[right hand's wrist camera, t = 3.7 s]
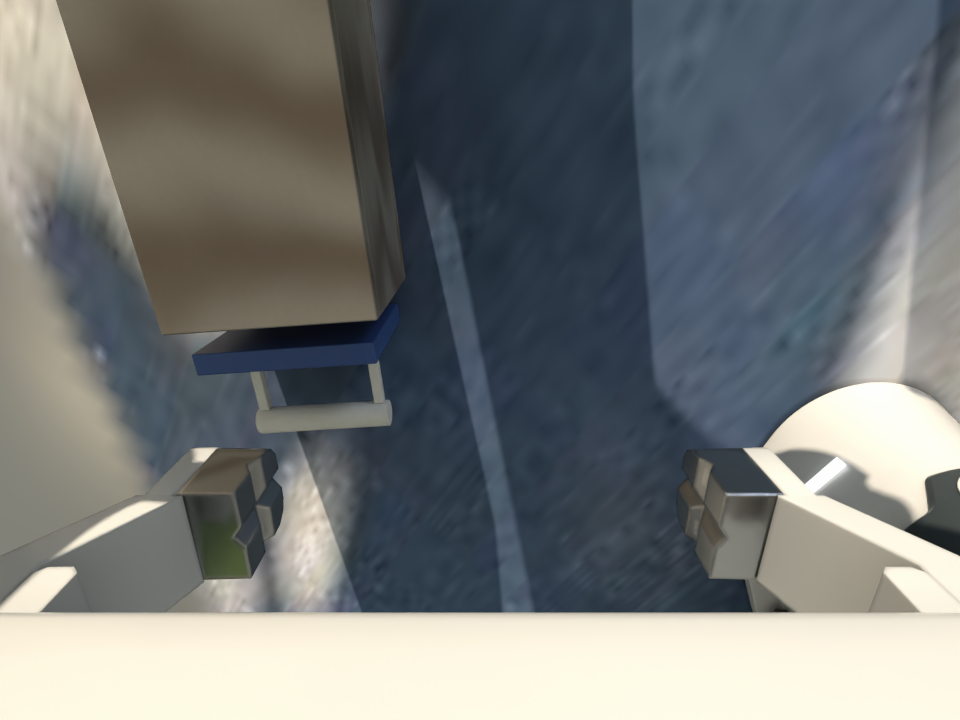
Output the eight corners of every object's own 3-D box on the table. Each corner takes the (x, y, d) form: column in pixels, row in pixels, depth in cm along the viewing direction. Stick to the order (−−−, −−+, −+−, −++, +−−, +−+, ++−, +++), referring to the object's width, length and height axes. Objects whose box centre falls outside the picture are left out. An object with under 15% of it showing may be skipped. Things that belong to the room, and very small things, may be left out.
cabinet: (406, 278, 34) (377, 320, 25) (244, 290, 35) (161, 335, 26) (356, -102, 27) (292, -228, 18) (153, -81, 27) (-7, -193, 18)
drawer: (410, 397, 36) (391, 456, 29) (275, 406, 37) (224, 466, 30) (352, -21, 27) (305, -82, 20) (175, -3, 28) (67, -58, 21)
